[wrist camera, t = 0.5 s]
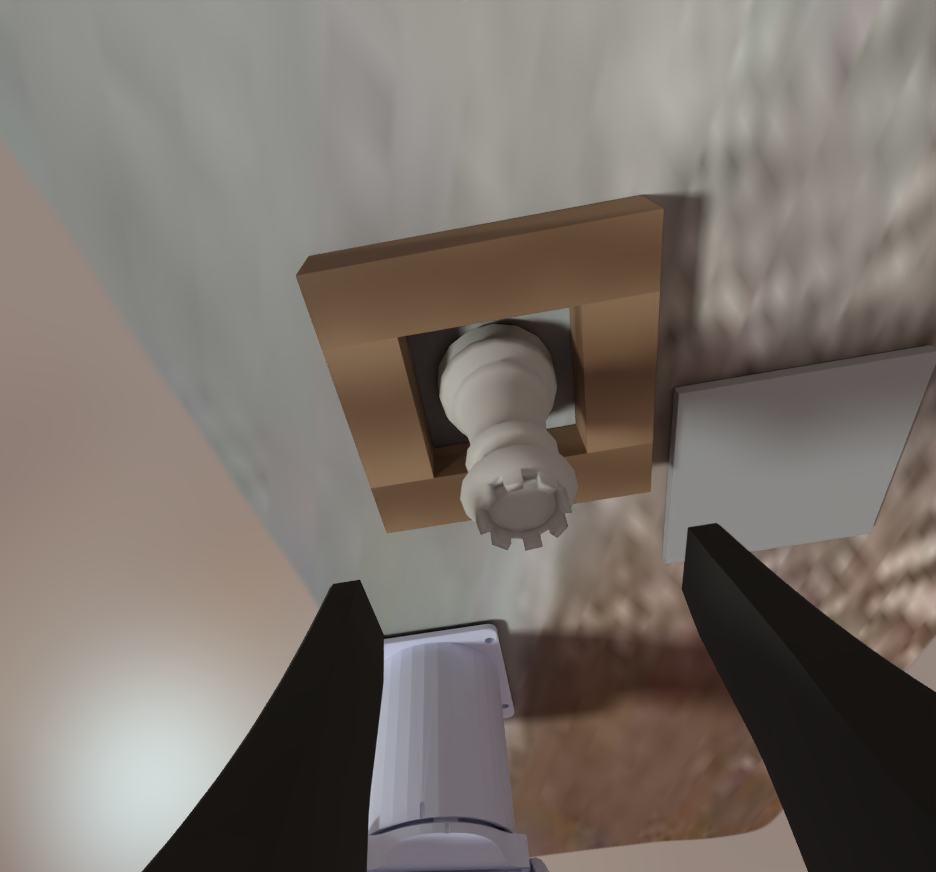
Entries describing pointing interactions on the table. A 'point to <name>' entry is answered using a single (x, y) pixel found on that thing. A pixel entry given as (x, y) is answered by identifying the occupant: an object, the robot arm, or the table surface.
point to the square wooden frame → (487, 299)
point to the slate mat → (791, 449)
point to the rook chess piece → (507, 434)
